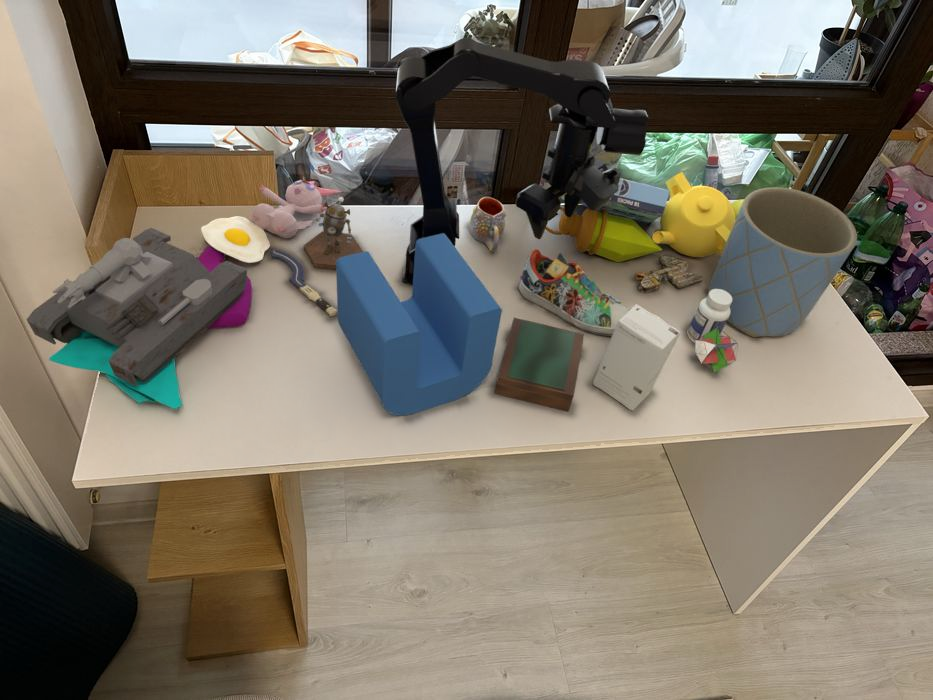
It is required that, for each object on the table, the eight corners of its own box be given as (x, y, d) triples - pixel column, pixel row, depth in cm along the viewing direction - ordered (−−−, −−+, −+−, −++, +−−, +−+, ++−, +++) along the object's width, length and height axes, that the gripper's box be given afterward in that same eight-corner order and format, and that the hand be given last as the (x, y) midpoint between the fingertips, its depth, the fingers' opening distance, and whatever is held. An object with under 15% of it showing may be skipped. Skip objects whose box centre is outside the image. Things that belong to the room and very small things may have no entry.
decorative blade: (278, 247, 136) (255, 256, 133) (278, 243, 135) (255, 252, 132) (353, 307, 127) (330, 318, 124) (353, 303, 126) (330, 314, 123)
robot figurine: (297, 265, 132) (293, 210, 123) (306, 233, 138) (303, 179, 130) (359, 271, 133) (359, 217, 124) (365, 239, 139) (366, 185, 131)
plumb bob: (654, 245, 148) (535, 212, 146) (673, 217, 141) (548, 182, 139) (651, 281, 144) (529, 248, 142) (671, 254, 136) (542, 218, 134)
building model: (673, 254, 147) (675, 247, 146) (710, 278, 142) (713, 271, 141) (621, 281, 140) (623, 273, 139) (659, 307, 135) (661, 299, 133)
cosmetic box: (591, 385, 120) (613, 319, 109) (610, 365, 123) (634, 300, 113) (634, 413, 117) (662, 349, 106) (653, 393, 120) (682, 328, 109)
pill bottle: (717, 331, 132) (738, 291, 125) (714, 351, 128) (735, 311, 121) (688, 322, 133) (706, 282, 126) (684, 342, 129) (703, 301, 122)
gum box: (562, 200, 156) (556, 191, 133) (568, 176, 155) (563, 163, 133) (652, 223, 153) (662, 218, 131) (659, 199, 152) (670, 189, 130)
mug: (466, 222, 147) (470, 194, 142) (500, 222, 148) (505, 195, 143) (473, 261, 138) (477, 232, 134) (508, 261, 139) (514, 233, 135)
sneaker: (619, 349, 126) (634, 307, 119) (509, 299, 132) (517, 256, 125) (635, 324, 131) (649, 282, 124) (528, 276, 137) (536, 235, 130)
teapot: (619, 219, 151) (625, 193, 140) (693, 173, 152) (704, 144, 141) (679, 295, 145) (690, 274, 134) (755, 246, 146) (771, 222, 136)
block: (381, 424, 110) (384, 340, 97) (338, 343, 120) (335, 258, 107) (486, 389, 117) (502, 307, 104) (437, 315, 127) (446, 232, 114)
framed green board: (494, 393, 116) (497, 376, 113) (510, 333, 126) (513, 316, 123) (568, 411, 116) (574, 394, 112) (579, 350, 125) (584, 332, 122)
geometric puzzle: (756, 346, 122) (727, 374, 119) (732, 359, 128) (704, 385, 125) (727, 313, 122) (698, 340, 119) (704, 327, 129) (676, 353, 126)
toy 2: (228, 200, 133) (295, 150, 146) (234, 230, 138) (299, 179, 151) (294, 227, 129) (357, 173, 142) (298, 257, 134) (359, 202, 147)
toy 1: (158, 250, 127) (136, 176, 116) (252, 292, 122) (237, 218, 111) (37, 341, 111) (-2, 266, 100) (138, 394, 106) (109, 320, 95)
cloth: (93, 300, 119) (96, 311, 121) (24, 350, 109) (28, 361, 111) (229, 357, 113) (230, 368, 115) (168, 415, 104) (170, 426, 105)
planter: (750, 355, 129) (800, 267, 114) (682, 286, 140) (719, 198, 125) (826, 326, 136) (882, 241, 121) (755, 264, 147) (799, 178, 132)
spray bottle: (181, 332, 118) (192, 238, 135) (252, 328, 120) (253, 236, 137) (178, 318, 116) (189, 225, 133) (250, 314, 118) (252, 223, 135)
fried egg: (250, 269, 127) (251, 264, 127) (190, 234, 127) (191, 229, 127) (285, 241, 137) (286, 236, 136) (229, 208, 137) (230, 204, 136)
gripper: (583, 192, 107) (560, 274, 118) (646, 148, 118) (620, 226, 129) (522, 159, 111) (506, 241, 122) (589, 119, 122) (568, 198, 133)
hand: (553, 226), depth 127 cm, fingers open, 9 cm apart
